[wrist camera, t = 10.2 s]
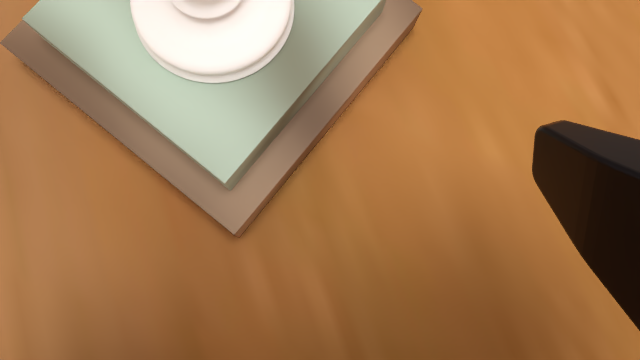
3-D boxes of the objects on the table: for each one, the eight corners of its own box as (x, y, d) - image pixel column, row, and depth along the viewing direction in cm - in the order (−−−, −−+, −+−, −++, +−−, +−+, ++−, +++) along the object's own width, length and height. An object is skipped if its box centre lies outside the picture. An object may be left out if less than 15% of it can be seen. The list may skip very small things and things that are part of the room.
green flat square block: (238, 237, 19) (228, 231, 16) (22, 60, 19) (-27, 22, 16) (413, 27, 20) (433, -14, 17) (207, -130, 21) (193, -196, 18)
